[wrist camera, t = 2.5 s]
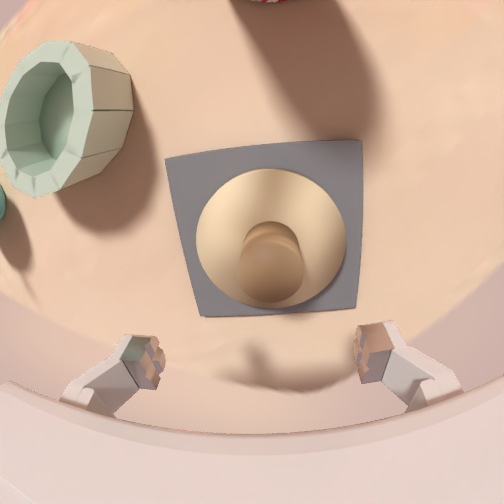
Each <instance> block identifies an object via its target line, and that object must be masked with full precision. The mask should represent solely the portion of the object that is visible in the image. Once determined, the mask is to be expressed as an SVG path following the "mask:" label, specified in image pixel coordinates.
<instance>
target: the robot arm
mask: <svg viewBox="0 0 504 504" xmlns="http://www.w3.org/2000/svg"><path fill="white" fill-rule="evenodd" d="M356 336H357V339H356V340H355V341H354V347H353V352H354V359H355V363H356V364H357V365H359V370H358V373H359V376H360V379H361V383H362V384H365V383H370V382H377V381H382V383H383V384H384V385H386V386H387V387H388V388H389V389H390V390H391V391H392V392H393V393H394V394H396V395H397V396H398V397H399V398H400V399H401V400H402V401H403V402H405V403H406V404H407V405H408V408H407V410H406V411H405V413H404V414H401V415H397V416H394V417H389V418H385V419H380V420H376V421H371V422H367V423H361V424H356V425H351V426H344V427H338V428H332V429H324V430H315V431H305V432H294V433H277V434H226V433H208V432H196V431H186V430H178V429H169V428H163V427H157V426H151V425H145V424H140V423H135V422H130V421H125V420H121V419H117V418H116V417H115V416H114V414H113V413H114V412H116V411H117V410H118V409H119V408H120V407H121V406H122V405H123V404H124V403H125V402H126V401H127V400H128V399H130V398H131V397H132V396H133V395H134V394H135V393H136V392H137V391H138V390H139V388H141V389H150V390H156V389H157V387H158V384H159V381H160V376H159V374H160V373H161V372H163V370H164V368H165V360H166V359H165V354H164V352H163V350H162V349H161V348H159V347H158V345H159V341H158V339H157V337H155V336H146V335H130V334H125V335H123V336H122V338H121V340H120V341H119V343H118V345H117V347H116V348H115V350H114V352H113V353H112V355H111V357H110V359H105V360H104V361H102V362H100V363H99V364H97V365H96V366H94V367H93V368H91V369H90V370H88V371H87V372H85V373H83V374H82V375H80V376H79V377H77V378H76V379H74V380H73V381H71V382H70V383H69V384H68V386H67V388H66V389H65V391H64V393H63V394H62V396H61V398H60V400H59V401H57V400H54V399H51V398H49V397H47V396H44V395H42V394H39V393H37V392H35V391H32V390H30V389H27V388H25V387H23V386H21V385H19V384H17V383H15V382H12V381H8V382H6V383H3V384H1V385H0V504H504V374H503V375H501V376H499V377H497V378H495V379H493V380H491V381H490V382H488V383H485V384H483V385H481V386H479V387H477V388H474V389H472V390H470V391H467V392H465V393H464V392H463V390H462V388H461V386H460V384H459V382H458V380H457V378H456V377H455V374H454V372H453V371H452V370H450V369H449V368H447V367H445V366H444V365H442V364H440V363H438V362H437V361H435V360H433V359H432V358H430V357H428V356H427V355H425V354H423V353H421V352H420V351H418V350H416V349H414V348H413V347H411V346H408V347H407V345H406V343H405V341H404V339H403V337H402V335H401V333H400V332H399V330H398V328H397V326H396V324H395V322H394V321H393V320H389V321H384V322H379V323H372V324H366V325H359V326H357V328H356Z"/></svg>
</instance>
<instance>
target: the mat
mask: <svg viewBox="0 0 504 504" xmlns="http://www.w3.org/2000/svg"><path fill="white" fill-rule="evenodd" d="M165 165H166V170H167V176H168V181H169V187H170V192H171V197H172V202H173V207H174V212H175V216H176V221H177V226H178V230H179V235H180V239H181V243H182V248H183V252H184V256H185V260H186V264H187V268H188V272H189V276H190V280H191V284H192V288H193V292H194V295H195V299H196V303H197V306H198V310H199V314H200V316H239V315H263V314H282V313H297V312H310V311H322V310H333V309H344V308H353V307H356V301H357V292H358V283H359V272H360V260H361V245H362V224H363V155H362V141H361V140H327V141H302V142H286V143H273V144H262V145H252V146H243V147H235V148H227V149H219V150H212V151H206V152H200V153H193V154H188V155H182V156H177V157H171V158H167V159H165ZM261 168H281V169H287V170H291V171H295V172H297V173H300V174H302V175H304V176H306V177H308V178H310V179H311V180H313V181H314V182H316V183H317V184H318V185H319V186H321V187H322V188H323V189H324V191H325V192H326V193H327V194H328V195H329V196H330V198H331V199H332V201H333V202H334V203H335V205H336V206H337V208H338V210H339V212H340V214H341V216H342V219H343V222H344V226H345V231H346V248H345V254H344V258H343V261H342V264H341V266H340V268H339V270H338V272H337V274H336V275H335V277H334V278H333V279H332V281H331V282H330V283H329V284H328V285H327V286H326V287H325V288H324V289H323V290H322V291H320V292H319V293H318V294H317V295H315V296H313V297H312V298H310V299H308V300H306V301H304V302H302V303H299V304H296V305H293V306H288V307H282V308H261V307H255V306H251V305H247V304H244V303H242V302H239V301H237V300H235V299H233V298H231V297H230V296H228V295H226V294H225V293H224V292H223V291H221V290H220V289H219V288H218V287H217V286H216V285H215V284H214V283H213V282H212V281H211V280H210V278H209V277H208V276H207V274H206V272H205V271H204V269H203V267H202V265H201V262H200V260H199V256H198V253H197V246H196V232H197V225H198V222H199V218H200V216H201V214H202V211H203V209H204V207H205V206H206V204H207V203H208V201H209V200H210V199H211V197H212V196H213V195H214V194H215V193H216V192H217V190H218V189H219V188H220V187H221V186H223V185H224V184H225V183H226V182H228V181H229V180H231V179H232V178H234V177H236V176H238V175H240V174H242V173H244V172H248V171H251V170H255V169H261Z"/></svg>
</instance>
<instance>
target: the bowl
mask: <svg viewBox="0 0 504 504" xmlns="http://www.w3.org/2000/svg"><path fill="white" fill-rule="evenodd" d="M132 110H134V106H133V97H132V88H131V78H130V75H129V73H128V71H127V70H126V69H125V68H124V67H123V65H122V64H121V63H120V62H119V61H118V60H117V58H116V57H115V56H114V55H113V54H112V53H110V52H107V51H104V50H101V49H98V48H94V47H91V46H87V45H84V44H80V43H76V42H72V41H46V42H44V43H42V44H41V45H40V46H38V47H37V48H36V49H34V50H33V51H32V52H30V53H29V54H28V55H27V56H25V57H24V58H23V59H22V60H21V61H20V62H19V64H18V65H17V67H16V69H15V70H14V72H13V74H12V76H11V77H10V79H9V81H8V83H7V85H6V86H5V88H4V90H3V93H2V97H1V101H0V163H1V165H2V167H3V169H4V171H5V173H6V175H7V176H8V178H9V180H10V182H11V184H12V185H13V186H14V188H16V189H18V190H20V191H21V192H23V193H25V194H27V195H29V196H31V197H33V198H35V199H36V198H38V197H41V196H44V195H47V194H50V193H53V192H56V191H59V190H61V189H63V188H66V187H68V186H70V185H73V184H75V183H77V182H80V181H82V180H85V179H87V178H90V177H92V176H95V175H97V174H99V173H101V172H102V171H103V169H104V168H105V167H106V166H107V165H108V164H109V162H110V161H111V160H112V159H113V158H114V157H115V156H116V154H117V153H118V152H119V151H120V150H121V149H122V147H123V144H124V141H125V137H126V134H127V131H128V128H129V124H130V121H131V118H132V115H133V112H134V111H132Z"/></svg>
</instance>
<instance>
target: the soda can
mask: <svg viewBox="0 0 504 504" xmlns="http://www.w3.org/2000/svg"><path fill="white" fill-rule="evenodd" d="M252 1H258V2H280V1H286V0H252Z"/></svg>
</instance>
